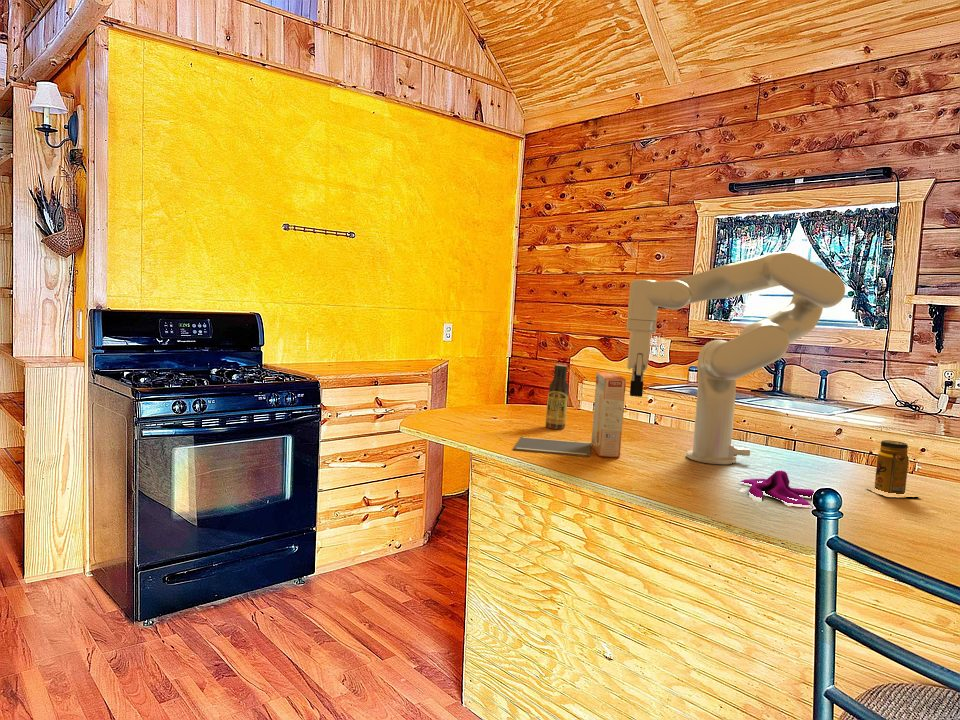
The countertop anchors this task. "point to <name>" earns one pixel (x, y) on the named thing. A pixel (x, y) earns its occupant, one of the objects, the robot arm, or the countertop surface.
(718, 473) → the countertop surface
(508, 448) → the countertop surface
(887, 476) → the condiment
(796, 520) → the countertop surface
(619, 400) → the cracker box
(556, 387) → the sauce bottle
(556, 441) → the mat
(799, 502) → the cloth
